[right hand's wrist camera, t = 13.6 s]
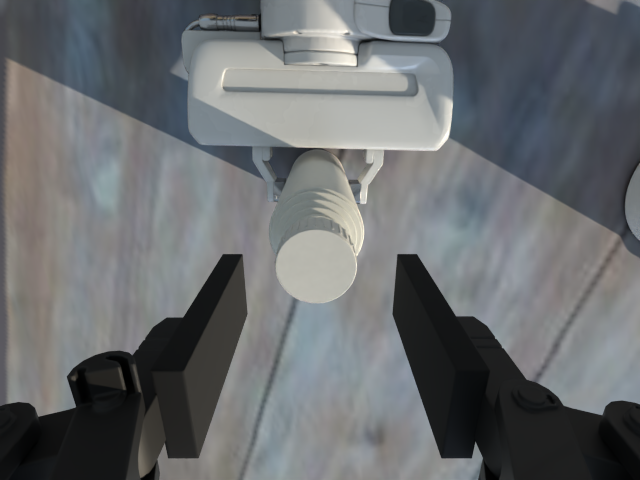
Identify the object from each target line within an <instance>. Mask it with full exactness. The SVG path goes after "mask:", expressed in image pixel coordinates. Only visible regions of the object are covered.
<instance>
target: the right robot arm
mask: <svg viewBox="0 0 640 480" xmlns="http://www.w3.org/2000/svg"><path fill="white" fill-rule="evenodd" d="M246 317H247V303H246V291H245V279H244V267H243V255H242V254H223V255H222V257H221V258H220V260H219V262H218V263H217V265H216V266H215V268H214V270H213V271H212V273H211V274H210V276H209V278H208V279H207V281H206V282H205V284H204V285H203V287H202V289H201V290H200V292H199V293H198V295H197V297H196V298H195V300H194V301H193V303H192V305H191V306H190V308H189V309H188V311H187V312H186V314H185V316H184V317H183V318H166V319H164V320H163V321H161V322H160V323H159V324H157V325H156V326H154V327H153V328H152V330H151V331H150V332H149V334H148V335H147V337H146V338H145V340H144V341H143V342H142V343H141V345H140V346H139V349H138V350H136V351H135V353H134V354H133V356H132V355H131V354H130V353H128V352H123V351H109V352H105V353H101V354H98V355H95V356H92V357H90V358H88V359H86V360H84V361H82V362H81V363H80V364H78V365H77V366H76V367H74V368H73V369H72V371H71V372H70V373H69V375H68V376H67V379H68V382H69V385H70V388H71V391H72V395H73V398H74V401H75V404H76V408H73V409H70V410H66V411H61V412H57V413H53V414H49V415H44V416H40V417H38V415H37V413H36V410H35V408H34V407H33V406H32V405H31V404H29V403H22V402H17V403H11V404H5V405H2V406H0V480H159V475H160V472H159V465H158V460H157V458H158V456H159V454H160V452H161V450H162V447H163V445H164V443H165V445H166V450H167V455H168V458H199V455H200V452H201V449H202V446H203V443H204V441H205V438H206V435H207V432H208V429H209V426H210V423H211V420H212V417H213V414H214V411H215V408H216V405H217V402H218V399H219V396H220V393H221V390H222V387H223V385H224V382H225V379H226V376H227V373H228V370H229V367H230V364H231V361H232V358H233V355H234V352H235V349H236V346H237V343H238V340H239V337H240V334H241V332H242V329H243V326H244V323H245V320H246ZM393 317H394V320H395V323H396V326H397V329H398V332H399V334H400V337H401V340H402V343H403V346H404V349H405V352H406V355H407V358H408V361H409V364H410V367H411V370H412V373H413V376H414V379H415V382H416V385H417V387H418V390H419V393H420V396H421V399H422V402H423V405H424V408H425V411H426V414H427V417H428V420H429V423H430V426H431V429H432V432H433V435H434V438H435V441H436V443H437V446H438V449H439V452H440V455H441V458H472V455H473V450H474V445H475V441H476V443H477V446H478V448H479V450H480V452H481V454H482V457H483V460H482V465H481V469H480V474H479V478H478V480H640V404H637V403H633V402H627V401H614V402H611V403H609V404H608V405H607V406H606V407H605V410H604V413H603V415H598V414H594V413H589V412H585V411H581V410H577V409H572V408H569V407H566V406H563V404H562V403H561V401H560V400H559V398H558V397H557V396H556V395H555V394H554V393H552V392H551V391H550V390H549V389H547V388H545V387H543V386H542V385H540V384H538V383H535V382H532V381H529V380H526V378H525V377H524V376H523V374H522V373H521V372H520V370H519V369H518V367H517V366H516V365H515V363H514V362H513V361H512V359H511V358H510V357H509V355H508V354H507V353H506V351H505V350H504V349H503V348H502V346H501V344H500V343H499V342H498V340H497V339H495V336H494V335H493V334H492V332H491V331H490V330H489V328H488V327H487V326H486V325H485V324H483V323H482V322H480V321H479V320H478V319H476V318H475V317H456V316H455V314H454V312H453V311H452V309H451V308H450V306H449V305H448V303H447V301H446V300H445V298H444V297H443V295H442V293H441V292H440V290H439V289H438V287H437V285H436V284H435V282H434V281H433V279H432V278H431V276H430V274H429V273H428V271H427V270H426V268H425V266H424V265H423V263H422V262H421V260H420V258H419V257H418V255H417V254H398V255H397V267H396V279H395V291H394V303H393Z"/></svg>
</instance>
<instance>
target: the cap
mask: <svg viewBox="0 0 640 480" xmlns="http://www.w3.org/2000/svg"><path fill="white" fill-rule="evenodd" d="M356 262H357V258H356V252H355V248H354V244H353V242H352V240H351V236H350V235H348V233H347V232H346V229H344V228H343V227H342V226H340V224H339V223H336V222H334V221H333V220H332V219H331V220H330V219H327V218H325V217H323V218H322V217H316V216H315V217H310V218H308V217H306V219H303V220H298V222H296V223H295V224H292V225H291V227H290V228H289V229H288V230H285V234H284V235H283V236H282V237H281V240H280V243H279V245H278V248H277V252H276V260H275V270H276V275H277V278H278V280H279V282H280V284H281V286H282V287H283V288H284V290H285V291H286V292H288V293H289V294H290V295H291V296H293V297H295V298H296V299H298V300H301V301H304V302H309V303H323V302H328V301H331V300H333V299H336V298H337V297H339V296H341V295H342V294H343V293H345V291H346V290H347V289H348V288H349V287H350V286H351V284H352V282H353V280H354V278H355V275H356V268H357V264H356Z"/></svg>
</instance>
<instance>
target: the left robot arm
mask: <svg viewBox="0 0 640 480" xmlns="http://www.w3.org/2000/svg"><path fill="white" fill-rule="evenodd" d="M260 3H261V13H260V15H242V14H239V15H228V16H221V15H218V14H202V15H199V20H195V21H193V22H191V23H190V24H189V25H188V26H187V27H186V28H185V30H184V32H183V34H182V39H181V43H182V54H183V63H184V66H185V69H186V71H187V72H188V74H189V77H188V96H187V113H188V128H189V132H190V134H191V135H192V136H193V137H194V139H195V140H196V141H197V142H198V143H199V144H201V145H221V146H252V158H253V162H254V164H255V165H256V167H257V169H258V170H259V172H260V173H261V175H262V177H263V178H264V180H265V182H267V199H268V202H278V200H279V198H280V195H281V193H282V190H283V188H284V186H285V183H286V178H277V176H276V175H275V173H274V171H273V169H272V168H271V166H270V164H269V162H268V161H269V160H270V159H271V157H272V156H273V147H300V148H339V149H363V159H364V160H365V161H366V163H368V164H367V165H366V167H365V168H364V170H363V172H362V173H361V175H360V176H359V178H358V180H348V183H349V186H350V188H351V191H352V194H353V196H354V199H355V202H356V204H366V199H367V185H368V184H369V183H370V182H371V181H372V179H373V178H374V176H375V175H376V173H377V172H378V170H379V169H380V167H381V166H382V165H383V156H384V150H417V151H436V150H438V149H439V148H440V147H441V146H442V145H443V144H444V143H445V142H446V140H447V139H448V137H449V134H450V128H451V120H452V108H453V67H452V63H451V60H450V58H449V56H448V54H447V53H446V51H445V50H444V49H443V48H441V47H440V46H438V45H436V44H438V43H439V42H441V41H442V40H443V39H444V38H445V37H446V36H447V34H448V32H449V29H450V24H451V11H450V9H449V8H448V7H447V6H446V5H445V4H443V3H441V2H439V1H436V0H260ZM198 26H200V28H201V30H193V29H194V28H196V27H198ZM202 30H204V31H202ZM225 30H226V31H225ZM260 32H261V33H260ZM261 38H262V40H261ZM625 215H626V219H627V223H628V225H629V228H630V230H631V231H632V233H633V234H634V235H635V237H636V238H637V239H638V240H639V241H640V163H639V165H638V166H637V168H636V170H635V172H634V174H633V176H632V178H631V180H630V183H629V186H628V189H627V193H626V199H625Z"/></svg>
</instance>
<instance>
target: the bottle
mask: <svg viewBox="0 0 640 480" xmlns="http://www.w3.org/2000/svg"><path fill="white" fill-rule="evenodd" d="M315 216H316V217H322V218H323V217H325V218H327V219H330V220H331V219H332V220H333V221H334V222H336V223H339V224H340V226H342V227H343V228H344V229H346V232H347V233H348V235H350V236H351V240H352V242H353V244H354V248H355V252H356V256H357V255H358V253H359V251H360V249H361V246H362V243H363V239H364V226H363V221H362V218H361V215H360V212H359V210H358V207H357V204H356V202H355V199H354V196H353V194H352V191H351V188H350V186H349V183H348V180H347V178H346V175H345V172H344V170H343V167H342V165H341V163H340V161H339V160H338V158H337V157H336V156H335V155H333V154H332V153H330V152H328V151H325V150H321V149H313V150H309V151H307V152H305V153H303V154H301V155H300V156H299V157H298V158H297V159H296V161H295V162H294V164H293V166H292V169H291V171H290V173H289V176H288V178H287V181H286V183H285V186H284V188H283V190H282V193H281V195H280V198H279V200H278V203H277V205H276V207H275V210H274V212H273V215H272V217H271V220H270V225H269V239H270V243H271V247H272V249H273V251H274V253H275V255H276V252H277V248H278V245H279V243H280V240H281V237H282V236H283V235H284V234H285V230H288V229H289V228H290V227H291V225H292V224H295V223H296V222H298V220H303V219H306V217H308V218H310V217H315Z"/></svg>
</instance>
